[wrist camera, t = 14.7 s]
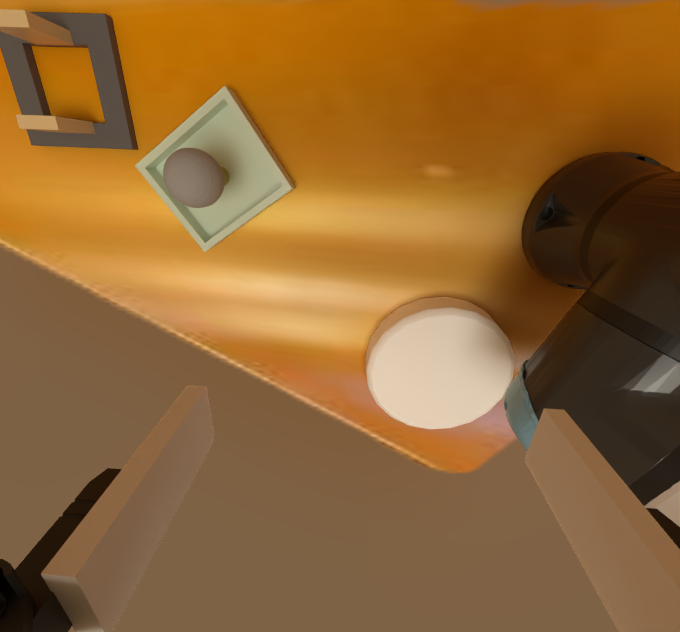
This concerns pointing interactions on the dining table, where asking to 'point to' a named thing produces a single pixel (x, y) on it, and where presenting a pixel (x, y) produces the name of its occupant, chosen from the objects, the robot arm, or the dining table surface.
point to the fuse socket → (43, 129)
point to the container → (438, 363)
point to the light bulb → (194, 177)
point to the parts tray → (231, 153)
